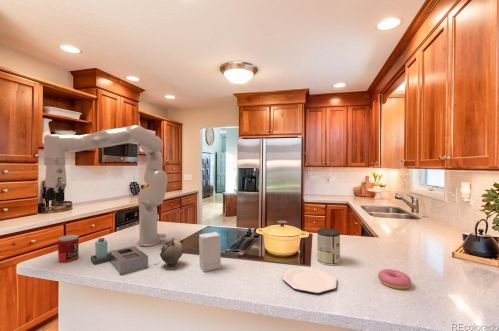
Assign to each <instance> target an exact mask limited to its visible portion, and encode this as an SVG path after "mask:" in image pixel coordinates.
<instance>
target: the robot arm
mask: <svg viewBox="0 0 499 331" xmlns="http://www.w3.org/2000/svg"><path fill="white" fill-rule="evenodd" d="M129 143H138V144H140V148H141V150H142V151H143V152H144V153H145V156H146V159H147V160H146V166H145V170H144V171H145V172H144V176H143V182H144V183H145V184H146V185H148V186H149V187H144V188H142V189H140V191H139V192H138V194H137V203H138V210H139V212H138V214H139V216H138V218H139V219H138V221H139V222H138V223H139V226H138V227H139V235H138V236H139V239H138V240H137V241H136V245H137V246H138V247H152V246H153V247H154V246H156V245H158V244H160V243H161V238H162V239H163V238H166V237H167V235H166V233H158V206H160V205H161V204H163V201H165V200H164V199H165V197H166V193H167V188H168V180H169V179H168V174H167V172H166V171H165V170H163V163H164V157H163V154H162V152H161V151H162V150H163V147H164V142H163V140H162V138H160V137H159V136H158V135H156V134H154V133H152V132H151V131H149V130H147V129H146V128H145V127H142V126H141V125H137V124H134V125H130V126H123V127H117V128H110V129H104V130H103V129H102V130H99V131H96V132H92V133H87V134H81V135H76V134H75V135H62V134H54V133H53V134H52V133H51V134H50V133H49V134H45V135H44V137H43V155H44V156H43V166H44V167H45V181H44V182H45V187H46V188H45V191H46V192H45V194H46V201H52V200H55V202H56V203H59V202H60V203H61V202H65V192H66V187H67V170H66V151H68V152H71V153H75V152H76V153H77V152H82V151H86V150H91V149H98V148H100V149H101V148H107V147H114V146H118V145H125V144H129Z"/></svg>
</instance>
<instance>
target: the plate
mask: <svg viewBox="0 0 499 331" xmlns="http://www.w3.org/2000/svg"><path fill="white" fill-rule="evenodd" d="M282 280H283V282H284V283H286V284H287V285H289V286H290V287H291V288H292V289H293V290H297V291H301V292H305V293H306V292H307V293H311V294H323V293H326V292H329V291H333V290H335V289H337V281H338V280H337V277H336V276H334V275H332V274H331V273H329V272H327V271H326V270H324V269H323V268H322V269H320V268H314V267H308V266H300V267H296V268H289V269H286V271H285V273H284V275H283V276H282Z"/></svg>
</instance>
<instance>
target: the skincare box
mask: <svg viewBox="0 0 499 331" xmlns="http://www.w3.org/2000/svg"><path fill="white" fill-rule="evenodd" d="M198 244H199V245H198V247H199V248H198V250H199V251H198V252H199V256H198V257H199V268H200V270H201V272H202V273H206V272H210V271H213V270H218V269H221V268H222V264H221V262H222V260H221V258H222V256H221V235H220V234H219V233H218V232H217V231H213V232H208V233H207V232H206V233H201V234H198Z"/></svg>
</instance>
